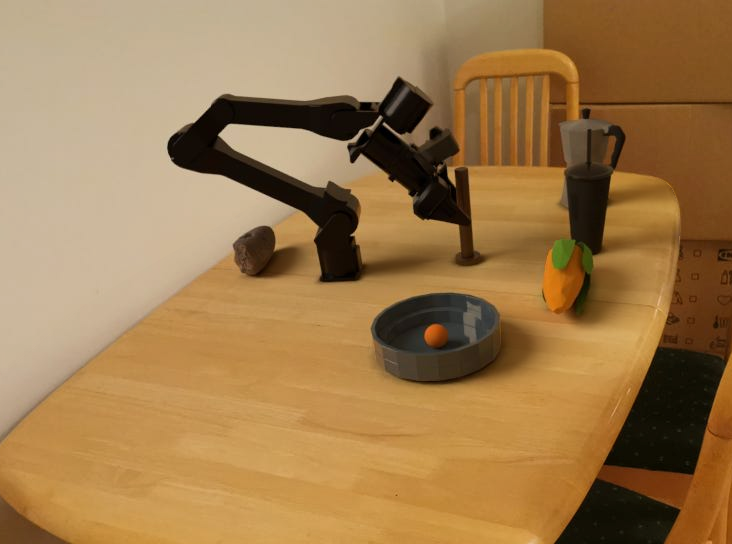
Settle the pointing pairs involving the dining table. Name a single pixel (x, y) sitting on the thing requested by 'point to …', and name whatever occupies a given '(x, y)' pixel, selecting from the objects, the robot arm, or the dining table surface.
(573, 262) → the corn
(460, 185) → the stirring stick
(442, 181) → the robot arm
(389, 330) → the bowl
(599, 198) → the drinking cup
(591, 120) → the coffeepot
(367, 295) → the dining table surface
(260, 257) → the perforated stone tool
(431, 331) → the ball
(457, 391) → the dining table surface
